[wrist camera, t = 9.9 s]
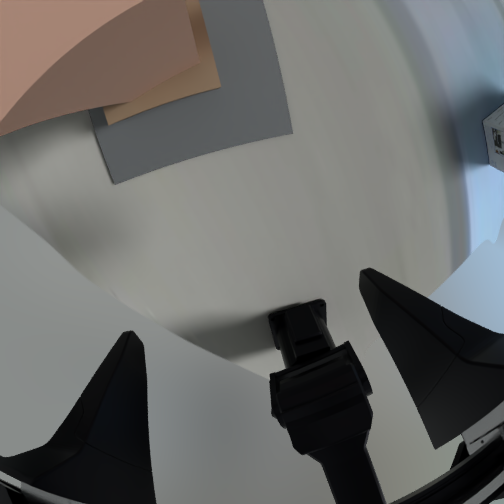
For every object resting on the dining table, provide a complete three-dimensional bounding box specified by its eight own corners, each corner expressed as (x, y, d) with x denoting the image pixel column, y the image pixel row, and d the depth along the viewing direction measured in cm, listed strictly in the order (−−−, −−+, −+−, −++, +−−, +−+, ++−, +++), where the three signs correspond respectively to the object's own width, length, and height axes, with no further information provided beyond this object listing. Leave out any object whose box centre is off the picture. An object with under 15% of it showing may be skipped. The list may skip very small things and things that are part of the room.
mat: (291, 132, 19) (293, 133, 19) (116, 183, 19) (115, 184, 19) (258, -10, 12) (259, -11, 12) (74, 49, 12) (72, 48, 12)
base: (219, 88, 16) (221, 87, 13) (124, 119, 16) (108, 125, 13) (197, 5, 12) (195, -12, 9) (102, 38, 12) (83, 30, 9)
